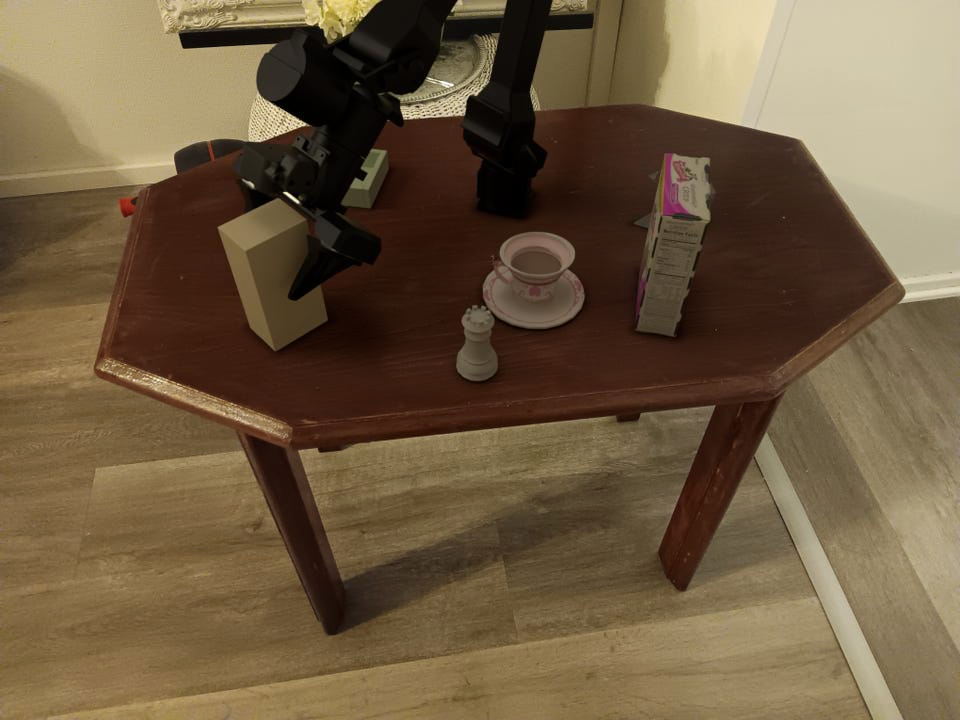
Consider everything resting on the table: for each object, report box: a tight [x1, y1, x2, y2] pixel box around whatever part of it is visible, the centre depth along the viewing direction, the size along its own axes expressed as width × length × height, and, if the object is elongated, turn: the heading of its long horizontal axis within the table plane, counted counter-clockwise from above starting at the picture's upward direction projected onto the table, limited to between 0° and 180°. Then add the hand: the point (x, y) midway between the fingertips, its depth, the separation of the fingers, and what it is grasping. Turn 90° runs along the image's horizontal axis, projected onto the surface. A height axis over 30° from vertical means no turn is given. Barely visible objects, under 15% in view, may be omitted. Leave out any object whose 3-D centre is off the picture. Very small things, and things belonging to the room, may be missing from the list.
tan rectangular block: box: [217, 198, 329, 352], centre depth 76 cm, size 7×5×14 cm
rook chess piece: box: [455, 304, 499, 382], centre depth 74 cm, size 4×4×8 cm
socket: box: [298, 148, 390, 210], centre depth 98 cm, size 12×10×3 cm
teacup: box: [482, 231, 586, 330], centre depth 82 cm, size 12×12×6 cm
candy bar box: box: [634, 152, 711, 338], centre depth 78 cm, size 11×5×16 cm, turn 168°
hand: (266, 277), depth 75 cm, fingers open, 9 cm apart
